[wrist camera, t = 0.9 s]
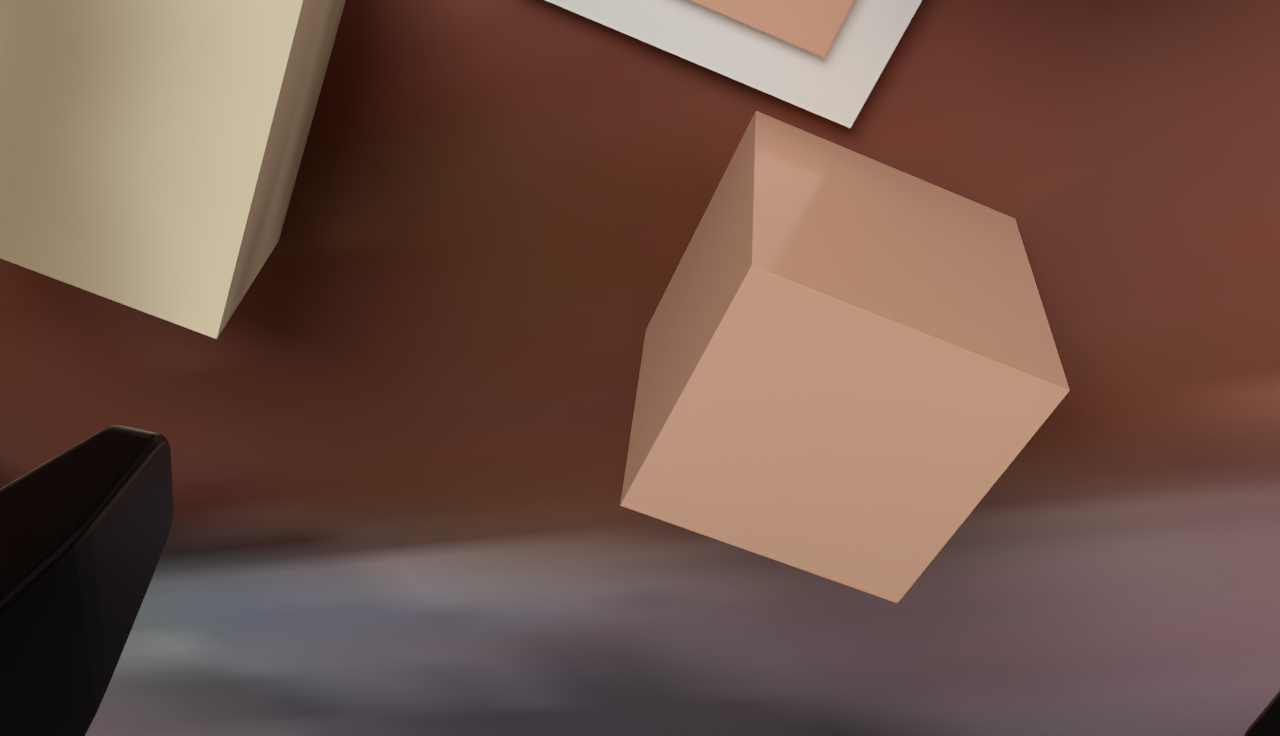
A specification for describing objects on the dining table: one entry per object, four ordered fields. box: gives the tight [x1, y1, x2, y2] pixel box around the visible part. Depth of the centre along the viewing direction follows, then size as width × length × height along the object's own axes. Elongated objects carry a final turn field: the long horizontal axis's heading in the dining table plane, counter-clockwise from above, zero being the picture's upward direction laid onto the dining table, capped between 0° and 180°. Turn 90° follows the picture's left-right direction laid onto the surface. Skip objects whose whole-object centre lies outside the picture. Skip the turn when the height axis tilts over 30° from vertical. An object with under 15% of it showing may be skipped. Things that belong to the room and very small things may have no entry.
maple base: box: [0, 0, 346, 339], centre depth 19 cm, size 7×7×4 cm
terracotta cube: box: [620, 111, 1070, 603], centre depth 20 cm, size 5×5×5 cm
